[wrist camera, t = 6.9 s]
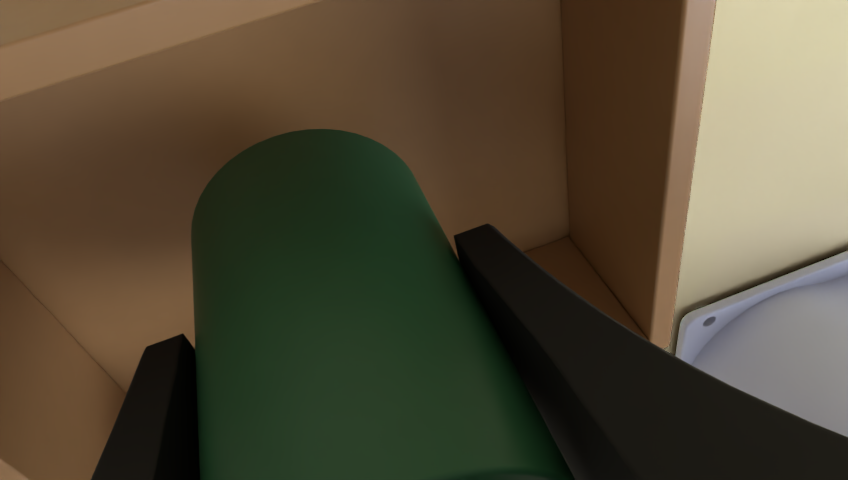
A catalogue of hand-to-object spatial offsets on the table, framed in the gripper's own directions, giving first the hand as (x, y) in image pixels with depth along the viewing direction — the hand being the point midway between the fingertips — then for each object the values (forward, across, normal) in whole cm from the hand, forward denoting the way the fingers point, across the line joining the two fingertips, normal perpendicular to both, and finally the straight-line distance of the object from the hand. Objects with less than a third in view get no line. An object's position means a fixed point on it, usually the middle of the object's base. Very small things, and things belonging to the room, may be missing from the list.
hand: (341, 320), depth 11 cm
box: (+5, 0, 0) cm, 5 cm away
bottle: (+3, 0, 0) cm, 3 cm away
